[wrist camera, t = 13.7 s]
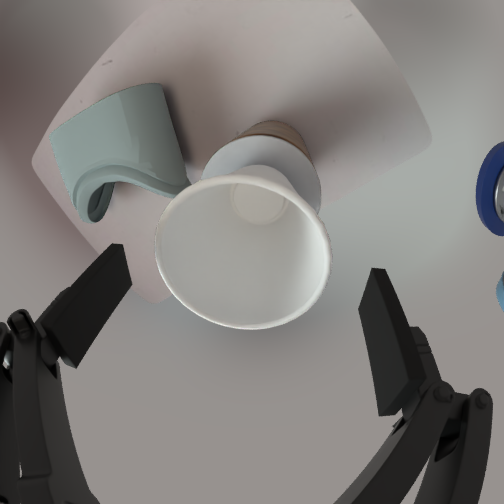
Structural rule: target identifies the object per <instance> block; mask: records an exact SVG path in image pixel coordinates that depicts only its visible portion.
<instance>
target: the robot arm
mask: <svg viewBox="0 0 504 504" xmlns="http://www.w3.org/2000/svg"><path fill="white" fill-rule="evenodd" d="M493 207H494V210H495V213H496V215H497V216H498V218H499V219H500V220H502V221H503V222H504V166H503V167H502V168H501V170H500V171H499V173H498V175H497V178H496V180H495V184H494V188H493ZM131 286H132V281H131V277H130V273H129V269H128V265H127V261H126V256H125V252H124V247H123V244H113V243H112V244H111V245H110V246H109V247H108V248H107V249H106V250H105V251H104V252H103V253H102V254H101V255H100V256H99V257H98V258H97V259H96V260H95V261H94V262H93V263H92V264H91V265H90V266H89V267H88V268H87V269H86V270H85V271H84V273H82V275H81V276H80V277H79V278H78V279H77V280H76V281H75V282H74V283H73V284H72V285H71V287H68V288H66V289H65V290H63V291H62V292H60V294H59V295H58V296H57V297H56V298H55V300H54V301H52V303H51V304H50V305H49V306H48V307H47V309H46V310H45V311H44V312H43V313H42V315H41V316H40V317H39V318H38V319H37V321H36V322H35V323H34V322H33V320H32V318H31V316H30V315H29V313H28V312H27V310H25V309H20V310H17V311H15V312H14V313H12V314H11V315H10V317H9V318H8V320H7V323H8V325H9V327H10V329H11V330H9V329H8V327H7V325H6V324H5V323H3V322H0V504H20V503H21V504H100V503H99V501H98V500H97V498H96V497H95V496H94V495H93V494H92V493H91V491H90V490H89V487H88V485H87V482H86V479H85V477H84V474H83V471H82V468H81V465H80V462H79V458H78V455H77V452H76V448H75V445H74V441H73V438H72V433H71V430H70V425H69V420H68V416H67V411H66V406H65V401H64V394H63V388H62V382H61V374H60V366H59V363H58V361H57V360H58V358H59V357H61V359H62V360H63V362H64V363H65V364H66V365H69V366H71V367H74V368H77V367H78V365H79V363H80V362H81V360H82V359H83V357H84V355H85V354H86V352H87V351H88V349H89V347H90V346H91V344H92V343H93V341H94V340H95V338H96V337H97V335H98V334H99V332H100V330H101V329H102V327H103V326H104V324H105V323H106V321H107V320H108V319H109V317H110V316H111V314H112V313H113V311H114V310H115V308H116V307H117V305H118V304H119V302H120V301H121V300H122V298H123V297H124V295H125V294H126V293H127V291H128V290H129V289H130V287H131ZM496 295H497V299H498V302H499V304H500V306H501V308H502V310H503V311H504V272H503V274H502V277H501V279H500V281H499V282H498V284H497V288H496ZM358 310H359V315H360V319H361V323H362V327H363V332H364V336H365V341H366V345H367V350H368V355H369V360H370V366H371V371H372V376H373V382H374V387H375V394H376V400H377V407H378V414H379V416H390V415H395V414H396V413H397V412H398V411H399V410H400V409H401V408H402V413H403V416H402V417H401V418H400V419H399V420H398V421H397V422H396V423H395V424H394V425H393V427H394V429H393V430H392V432H391V433H390V435H389V436H388V438H387V439H386V441H385V442H384V444H383V445H382V446H381V448H380V449H379V451H378V452H377V453H376V455H375V456H374V457H373V459H372V460H371V461H370V462H369V464H368V465H367V466H366V467H365V469H364V470H363V471H362V472H361V474H360V475H359V476H358V477H357V479H356V480H355V481H354V482H353V483H352V484H351V485H350V487H349V488H348V489H347V490H346V491H345V492H344V493H343V494H342V495H341V496H340V497H339V498H338V500H337V501H336V502H335V503H334V504H400V503H401V502H402V500H403V499H404V497H405V496H406V494H407V493H408V491H409V490H410V488H411V487H412V485H413V484H414V482H415V481H416V479H417V477H418V476H419V474H420V472H421V471H422V469H423V467H424V465H425V464H426V462H427V460H428V458H429V456H430V458H429V462H428V465H427V468H426V471H425V475H424V477H423V480H422V484H421V486H420V489H419V492H418V494H417V497H416V499H415V502H414V504H478V501H479V497H480V493H481V490H482V485H483V481H484V476H485V471H486V466H487V460H488V454H489V446H490V438H491V428H492V413H493V402H492V398H491V396H490V394H489V393H488V392H487V391H486V390H484V389H482V388H477V389H475V390H474V391H473V392H472V393H471V394H470V395H467V394H461V393H456V392H455V391H454V390H453V388H452V386H451V385H449V384H448V383H447V382H444V381H442V379H441V377H440V373H439V371H438V368H437V365H436V362H435V359H434V356H433V354H432V353H431V352H432V351H431V348H430V346H429V343H428V341H427V338H426V336H425V334H424V333H423V332H422V331H421V329H420V328H419V327H409V324H408V322H407V319H406V316H405V314H404V311H403V309H402V306H401V304H400V302H399V299H398V297H397V294H396V292H395V290H394V288H393V285H392V283H391V281H390V279H389V276H388V274H387V272H386V270H385V269H379V268H372V269H371V272H370V275H369V278H368V281H367V285H366V288H365V291H364V294H363V297H362V300H361V303H360V306H359V308H358ZM4 361H5V362H6V363H7V364H8V366H7V368H5V367H4V366H3V362H4ZM20 465H21V470H22V477H21V478H20Z"/></svg>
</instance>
